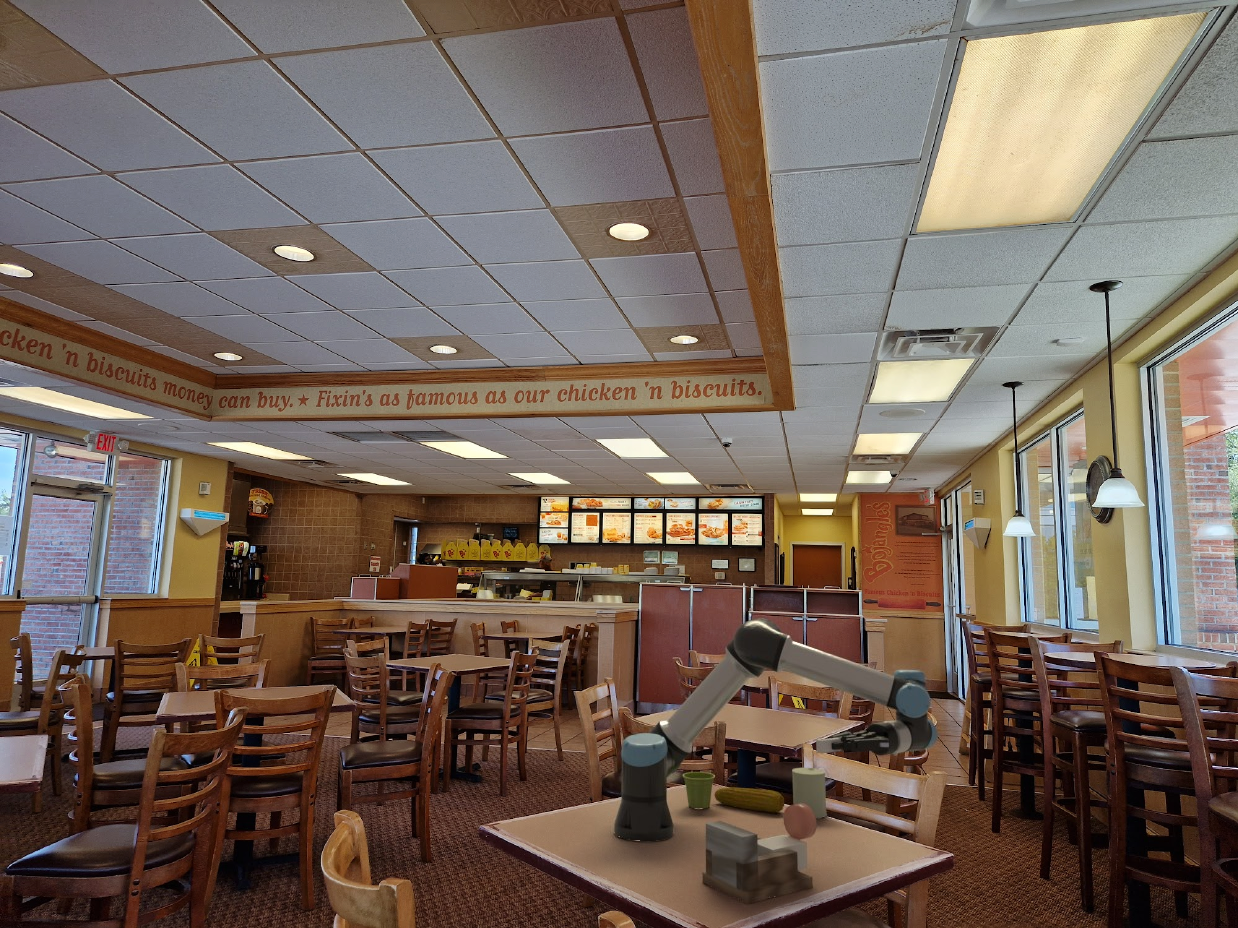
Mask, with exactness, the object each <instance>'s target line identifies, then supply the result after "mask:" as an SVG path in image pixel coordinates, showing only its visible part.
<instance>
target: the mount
mask: <svg viewBox="0 0 1238 928" xmlns="http://www.w3.org/2000/svg"><path fill="white" fill-rule="evenodd" d="M760 839H762V838H761V837H758V834H757V833H754V832H752V831H749V830H747V829H744V828H741V827H739V826H736V825H732V824H730V823H727V822H726V821H722V820H717V821H716V820H715V821H711V822H706V823H705V871H703V872H702V873H701V875H702V882H701V883H703V884H704V883H705V885H706V884H707V885H706V886H708V885H709V886H708V887H711V886H712V887H711V888H713V889H715V888H716V889H715V890H717V889H718V890H717V891H719V890H720V891H719V892H721V891H722V892H721V893H723V892H724V893H723V894H725V893H726V894H725V895H727V894H728V895H727V896H729V895H730V896H729V897H731V896H732V897H731V898H733V897H735V898H736V900H738V899H739V900H738V901H740V902H742V901H743V902H742V903H744V902H745V903H744V904H746V905H750V904H749V903H751V904H753V903H752V902H755V903H757V902H756V901H758V902H762V901H765V900H764V899H766V900H768V899H767V898H769V897H774V896H778V897H780V896H784V895H789V894H793V893H796V892H800V891H803V890H808V889H812V888H814V886H813V885H814V883H813V880H814V879H813V876H812V875H809V874H806V873H804V872H801V871H800V870H799V871H798V860H797V852H796V851H793V850H786V851H781V852H776V853H772V854H767V855H763V856H758V840H760ZM792 892H793V893H792ZM735 898H734V899H735ZM774 898H775V897H774ZM761 900H762V901H761Z"/></svg>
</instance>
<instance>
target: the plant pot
mask: <svg viewBox="0 0 1238 928" xmlns="http://www.w3.org/2000/svg"><path fill="white" fill-rule="evenodd" d="M715 777H716V775H715V774H713V773H710V772H702V771H693V772H692V771H691V772H686V773H682V778H683V779H684V780H683V781H684V783H685V788H686V789H685V790H686V796H687V797H686V798H687V805H688V807H689V806H690V807H689V808H692V809H693V808H704V809H709V808H710V807H711V798H712V789H713V783H714V779H715ZM708 807H709V808H708Z"/></svg>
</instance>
